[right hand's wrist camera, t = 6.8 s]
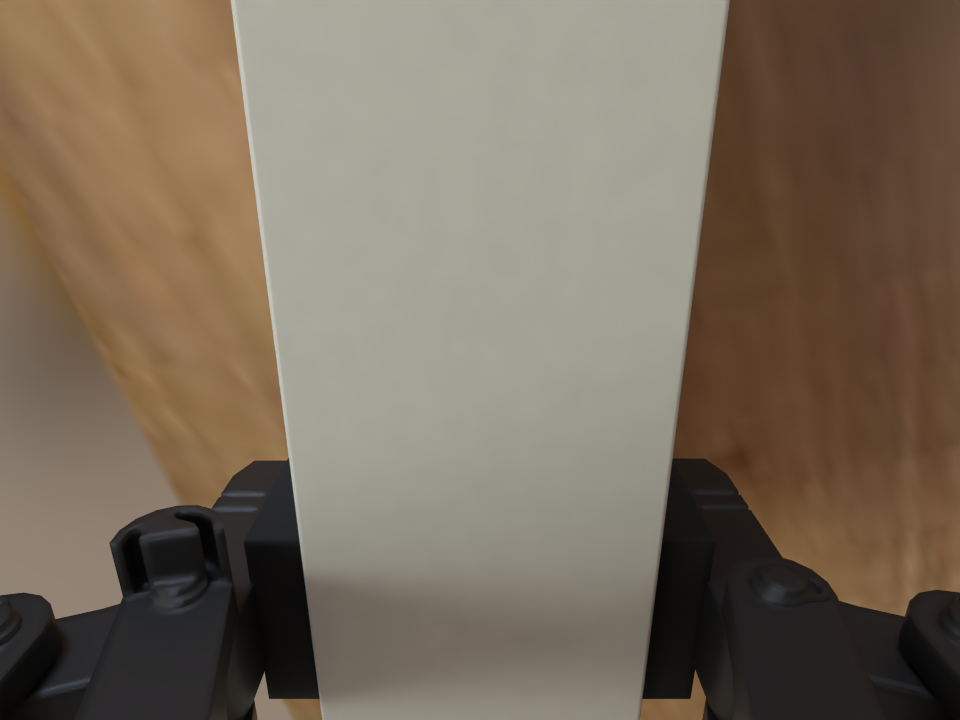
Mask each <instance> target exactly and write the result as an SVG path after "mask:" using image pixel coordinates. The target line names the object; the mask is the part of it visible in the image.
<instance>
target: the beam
mask: <svg viewBox="0 0 960 720" xmlns="http://www.w3.org/2000/svg"><path fill="white" fill-rule="evenodd" d="M729 4H730V0H231V5H232V13H233V21H234V29H235V37H236V45H237V53H238V61H239V68H240V76H241V84H242V92H243V100H244V108H245V116H246V123H247V131H248V139H249V147H250V155H251V163H252V171H253V179H254V186H255V194H256V202H257V210H258V218H259V226H260V234H261V241H262V249H263V257H264V265H265V273H266V281H267V289H268V297H269V304H270V312H271V320H272V328H273V336H274V344H275V352H276V359H277V367H278V375H279V383H280V391H281V399H282V407H283V415H284V422H285V430H286V438H287V446H288V454H289V462H290V470H291V477H292V485H293V493H294V501H295V509H296V517H297V525H298V533H299V540H300V548H301V556H302V564H303V572H304V580H305V588H306V595H307V603H308V611H309V619H310V627H311V635H312V643H313V651H314V658H315V666H316V674H317V682H318V690H319V698H320V706H321V713H322V720H640V714H641V706H642V698H643V690H644V682H645V674H646V666H647V658H648V650H649V642H650V634H651V626H652V618H653V610H654V602H655V594H656V586H657V578H658V570H659V562H660V554H661V546H662V538H663V530H664V522H665V514H666V506H667V498H668V491H669V483H670V475H671V467H672V459H673V451H674V443H675V435H676V427H677V419H678V411H679V403H680V395H681V387H682V379H683V371H684V363H685V355H686V347H687V339H688V331H689V323H690V315H691V307H692V299H693V291H694V283H695V275H696V267H697V259H698V251H699V243H700V235H701V227H702V219H703V211H704V203H705V195H706V188H707V180H708V172H709V164H710V156H711V148H712V140H713V132H714V124H715V116H716V108H717V100H718V92H719V84H720V76H721V68H722V60H723V52H724V44H725V36H726V28H727V20H728V12H729Z"/></svg>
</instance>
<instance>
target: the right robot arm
mask: <svg viewBox="0 0 960 720" xmlns="http://www.w3.org/2000/svg"><path fill="white" fill-rule="evenodd" d="M110 547H111V551H112V555H113V559H114V563H115V567H116V571H117V575H118V579H119V582H120V586H121V590H122V594H123V599H122V601H121V603H120V604H118V605H114V606H111V607H107V608H104V609H100V610H95V611H91V612H86V613H82V614H78V615H73V616H68V617H64V618H60V619H55V617H54V614H53V610H52V607H51V604H50V603H49V602H48V601H47V600H45V599H44V598H43V597H42V596H40V595H34V594H28V593H17V594H9V595H1V596H0V720H257V714H256V708H255V702H254V698H255V695H256V692H257V690H258V687H259V684H260V682H261V679H262V676H263V674H264V671H265V676H266V682H267V688H268V695H269V699H320V698H319V690H318V682H317V674H316V666H315V658H314V651H313V643H312V635H311V627H310V619H309V611H308V603H307V595H306V588H305V580H304V572H303V564H302V556H301V548H300V540H299V533H298V525H297V517H296V509H295V501H294V493H293V485H292V477H291V470H290V462H289V458H288V460H287V461H254V462H252V463H251V464H250V465H248V466H247V467H245V468H244V469H242V470H241V471H240V472H238V473H237V474H235V475H234V476H233V477H232V479H231V480H230V482H229V483H228V485H227V486H226V488H225V489H224V491H223V492H222V494H221V497H219V498H218V500H217V501H216V503H215V504H214V506H213V507H212V509H210V508H206V507H202V506H198V505H189V506H174V507H170V508H165V509H161V510H156V511H154V512H152V513H149V514H147V515H144V516H142V517H140V518H137V519H135V520H134V521H132V522H131V523H130V524H128V525H127V526H125V527H124V528H122V529H121V530H120V531H119V532H118V533H117V534H116V536H115V537H114V538H113V539H112V541H111V542H110ZM695 670H696V672H697V675H698V677H699V680H700V683H701V685H702V688H703V691H704V693H705V696H706V702H705V708H704V713H703V719H702V720H960V593H959V592H950V591H942V590H933V591H927V592H921V593H919V594H917V595H916V596H915V597H914V598H913V599H911V600H910V602H909V605H908V608H907V611H906V615H905V617H904V616H899V615H895V614H890V613H886V612H881V611H877V610H872V609H868V608H863V607H858V606H855V605H851V604H848V603H844V602H841V601H839V600H838V597H837V595H836V594H835V592H834V591H833V589H832V588H831V587H830V585H829V584H828V582H827V581H825V580H824V579H823V578H822V577H820V576H819V575H818V574H817V573H815V572H814V571H813V570H811V569H809V568H807V567H805V566H803V565H801V564H799V563H796V562H794V561H792V560H788V559H784V558H782V556H781V555H780V553H779V552H778V550H777V549H776V547H775V546H774V544H773V543H772V541H771V540H770V538H769V537H768V535H767V534H766V532H765V531H764V529H763V528H762V526H761V525H760V523H759V522H758V520H757V519H756V517H755V516H754V514H753V513H752V511H751V510H748V505H747V504H746V502H745V501H744V499H743V498H742V496H741V495H738V490H737V489H736V487H735V486H734V484H733V483H732V481H731V480H730V478H729V477H728V475H727V474H726V473H724V472H723V471H722V470H720V469H719V468H717V467H716V466H714V465H713V464H712V463H710V462H709V461H707V460H706V459H672V467H671V475H670V483H669V491H668V498H667V506H666V514H665V522H664V530H663V538H662V546H661V554H660V562H659V570H658V578H657V586H656V594H655V602H654V610H653V618H652V626H651V634H650V642H649V650H648V658H647V666H646V674H645V682H644V690H643V698H642V699H690V697H691V691H692V685H693V679H694V673H695Z"/></svg>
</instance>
